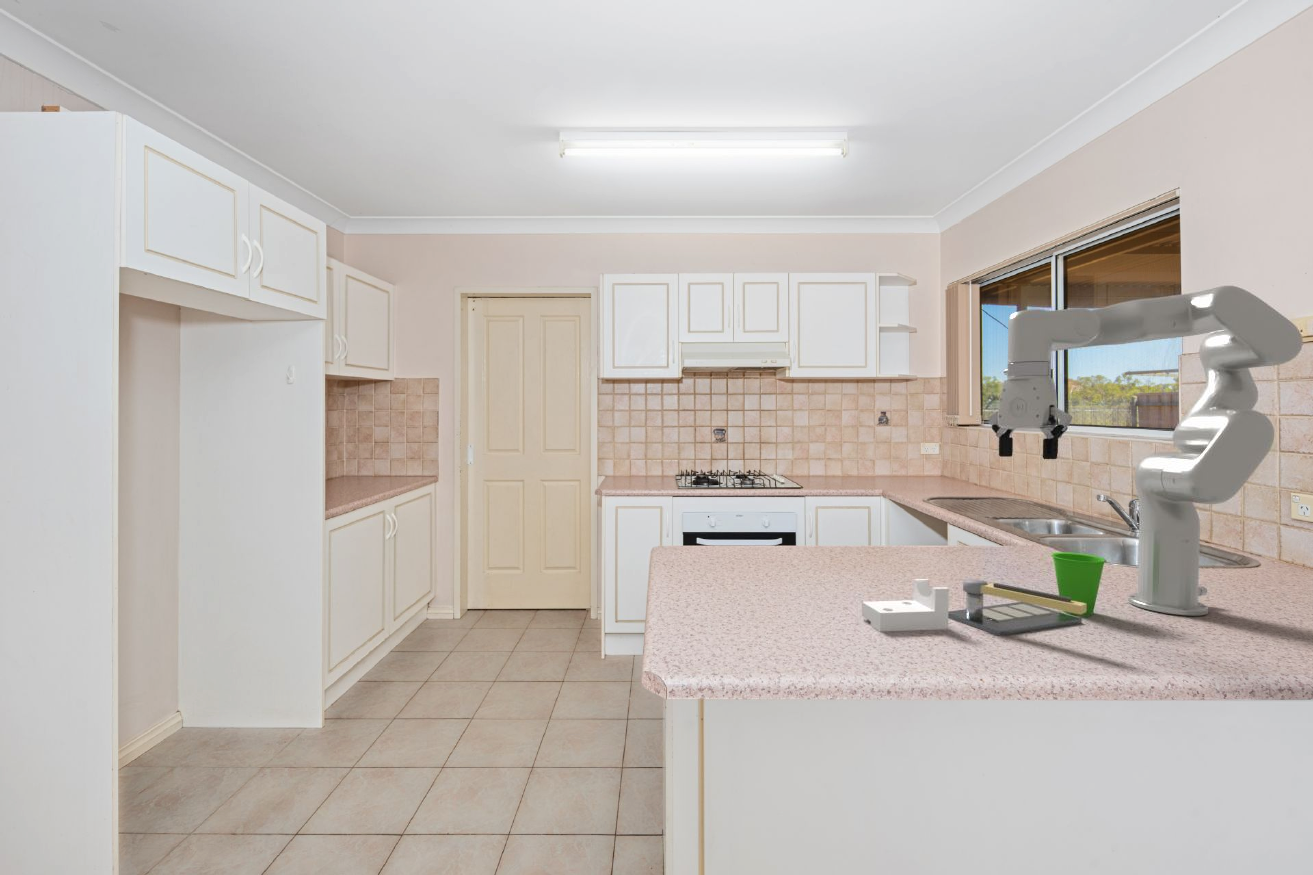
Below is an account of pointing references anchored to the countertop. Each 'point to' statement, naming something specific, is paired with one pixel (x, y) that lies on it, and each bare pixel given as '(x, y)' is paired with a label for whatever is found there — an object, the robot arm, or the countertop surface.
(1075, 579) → the cup
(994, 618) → the grey base plate
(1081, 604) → the swing arm
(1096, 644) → the countertop surface
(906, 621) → the bracket
